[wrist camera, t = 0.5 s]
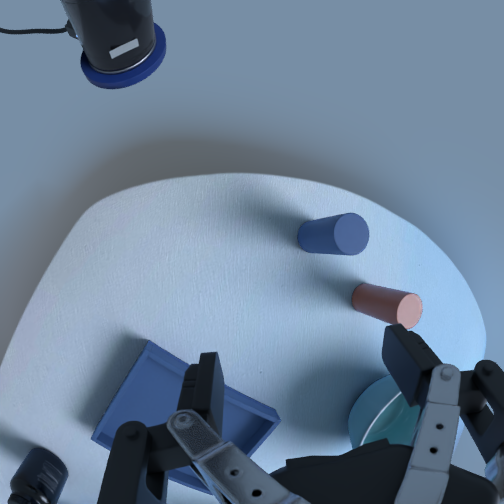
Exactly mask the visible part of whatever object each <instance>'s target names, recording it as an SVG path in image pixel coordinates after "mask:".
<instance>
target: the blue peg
mask: <svg viewBox="0 0 504 504" xmlns="http://www.w3.org/2000/svg"><path fill="white" fill-rule="evenodd" d="M297 238H298V242H299V245H300V246H301V248H302V249H303V250H305V251H306V252H309V253H320V254H336V255H357V254H359V253H361V252H362V251H363V250H364V249H365V247H366V246H367V244H368V240H369V229H368V226H367V224H366V222H365V220H364V219H363V218H362V217H361V216H359V215H357V214H355V213H346V214H341V215H336V216H331V217H326V218H322V219H317V220H312V221H308V222H305V223H304V224H303V225H302V226H301V227H300V229H299V231H298V237H297Z"/></svg>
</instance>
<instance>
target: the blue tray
mask: <svg viewBox="0 0 504 504" xmlns="http://www.w3.org/2000/svg"><path fill="white" fill-rule="evenodd" d="M189 366H190V365H189V364H187V363H185V362H183V361H182V360H180V359H178V358H177V357H175V356H174V355H172V354H170V353H169V352H167V351H165V350H164V349H162V348H161V347H159V346H158V345H156V344H154V343H153V342H151V341H150V340H149V341H148V343H147V344H146V346H145V347H144V349H143V351H142V352H141V354H140V355H139V357H138V359H137V360H136V362H135V363H134V365H133V367H132V368H131V370H130V371H129V373H128V375H127V376H126V378H125V380H124V381H123V383H122V384H121V386H120V388H119V389H118V391H117V393H116V394H115V396H114V398H113V399H112V401H111V403H110V404H109V406H108V408H107V409H106V411H105V413H104V415H103V416H102V418H101V420H100V421H99V423H98V425H97V427H96V428H95V431H94V433H93V435H92V437H91V440H93V441H94V442H96V443H98V444H99V445H101V446H103V447H104V448H106V449H108V450H110V451H111V448H112V444H113V441H114V437H115V434H116V431H117V429H118V428H119V426H121V425H122V424H123V423H126V422H128V421H140V422H142V423H143V424H145V426H146V427H151V426H155V425H160V424H163V423H165V422H167V420H168V418H169V416H170V415H172V414H173V413H174V412H176V410H177V406H178V401H179V397H180V392H181V388H182V383H183V379H184V375H185V371H186V370H187V369H188V367H189ZM280 422H281V419H280V417H279V416H278V414H277V412H276V410H275V409H273V408H271V407H269V406H267V405H264V404H262V403H260V402H258V401H256V400H254V399H252V398H250V397H248V396H246V395H244V394H242V393H240V392H238V391H236V390H234V389H232V388H230V387H228V386H226V385H225V390H224V407H223V425H222V439H223V440H224V441H226V442H227V441H231V442H232V443H234V444H235V445H236V446H237V447H238V448H239V449H240V450H241V451H242V452H243V453H244V454H246V455H247V456H248V457H249V458H250V457H251V455H252V454H253V453H254V452H255V451H256V450H257V449H258V448H259V446H260V445H261V444H262V443H263V442H264V441H265V440H266V438H267V437H268V436H269V435H270V434H271V433H272V431H273V430H274V429H275V428H276V427H277V425H278V424H279V423H280ZM168 479H169V480H172V481H174V482H177V483H179V484H182V485H185V486H187V487H190V488H193V489H195V490H198V491H201V492H204V493H207V494H210V495H213V494H212V493H211V491H210V490H209V489H208V488H207V487H206V486H205V485H204V484H203V482H202V481H201V480H200V479H199V478H198V477H197V475H196V474H195V473H194V472H193V471H192V469H191V468H190V467H189V466H185V467H181V468H177V469H172V470H169V475H168Z"/></svg>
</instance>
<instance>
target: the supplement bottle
mask: <svg viewBox="0 0 504 504" xmlns="http://www.w3.org/2000/svg"><path fill="white" fill-rule="evenodd" d="M67 478H68V470H67V468H66V466H65V465H64V463H63V462H62V461H61V460H60V459H59V458H58V457H57V456H55V455H54V454H53V453H51V452H49V451H47V450H45V449H41V448H34V449H32V450H31V451H30V452H29V454H28V455H27V456H26V458H25V459H24V461H23V462H22V464H21V465H20V467H19V468H18V470H17V471H16V473H15V474H14V476H13V478H12V479H11V482H10V487H11V490H12V493H11V495H10V498H9V499H8V504H57V501H58V499H59V497H60V494H61V492H62V490H63V487H64V485H65V483H66V481H67Z"/></svg>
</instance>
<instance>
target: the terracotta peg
mask: <svg viewBox="0 0 504 504" xmlns="http://www.w3.org/2000/svg"><path fill="white" fill-rule="evenodd" d="M352 304H353V307H354V308H355V310H357V311H358V312H361V313H363V314H366V315H369V316H371V317H374V318H376V319H379V320H382V321H384V322H387V323H390V324H392V325H394V324H399V323H401V324H402V325H403V326H404V327H405V328H406V329H410V328H412V327H414V326H415V325H416V324H417V323H418V321H419V319H420V317H421V314H422V301H421V299H420V297H419V296H418V295H417V294H414V293H409V292H405V291H400V290H395V289H390V288H386V287H381V286H376V285H372V284H366V283H364V284H361V285H359V286H358V287H357V288H356V289H355V290H354V292H353V295H352Z"/></svg>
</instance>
